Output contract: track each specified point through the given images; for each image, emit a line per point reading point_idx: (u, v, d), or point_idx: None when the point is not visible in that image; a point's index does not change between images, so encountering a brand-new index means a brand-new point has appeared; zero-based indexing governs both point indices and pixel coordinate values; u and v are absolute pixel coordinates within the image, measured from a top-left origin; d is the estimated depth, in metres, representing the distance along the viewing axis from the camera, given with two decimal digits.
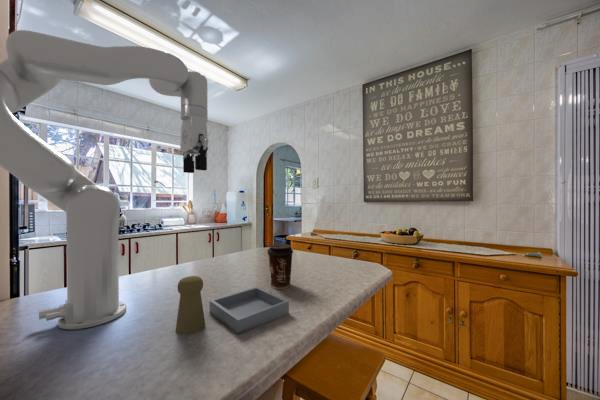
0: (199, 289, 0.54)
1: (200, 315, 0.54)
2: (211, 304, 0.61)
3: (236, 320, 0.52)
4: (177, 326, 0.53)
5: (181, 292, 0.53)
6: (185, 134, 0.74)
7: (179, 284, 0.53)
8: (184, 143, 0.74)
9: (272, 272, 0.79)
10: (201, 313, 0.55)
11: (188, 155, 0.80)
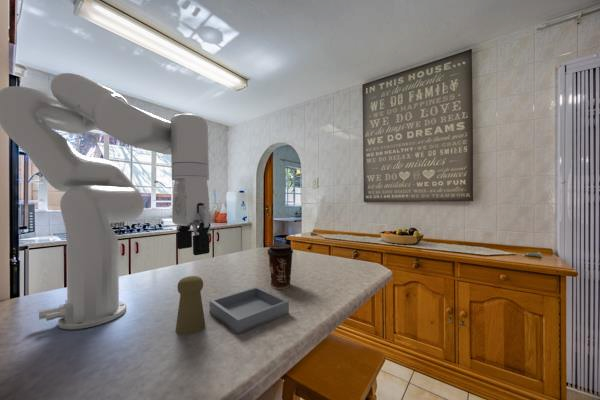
0: (199, 289, 0.54)
1: (200, 315, 0.54)
2: (211, 304, 0.61)
3: (236, 320, 0.52)
4: (177, 326, 0.53)
5: (181, 292, 0.53)
6: (178, 202, 0.53)
7: (179, 284, 0.53)
8: (177, 214, 0.53)
9: (272, 272, 0.79)
10: (201, 313, 0.55)
11: None
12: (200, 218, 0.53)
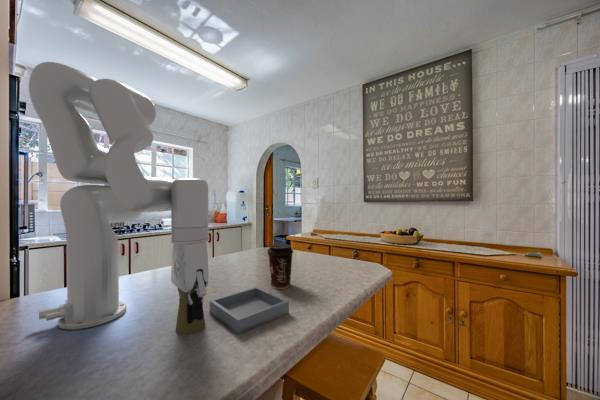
0: None
1: None
2: (211, 304, 0.61)
3: (236, 320, 0.52)
4: (177, 326, 0.53)
5: (181, 292, 0.53)
6: (177, 265, 0.53)
7: None
8: (176, 277, 0.53)
9: (272, 272, 0.79)
10: None
11: None
12: None
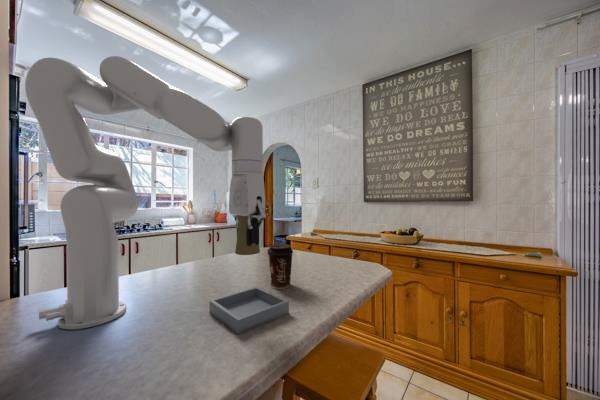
0: None
1: None
2: (211, 304, 0.61)
3: (236, 320, 0.52)
4: (237, 249, 0.60)
5: (241, 218, 0.59)
6: (238, 195, 0.59)
7: None
8: (236, 206, 0.60)
9: (272, 272, 0.79)
10: None
11: None
12: None
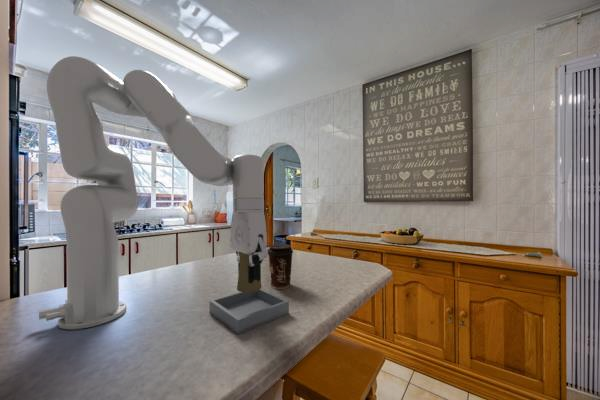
0: None
1: None
2: (211, 304, 0.61)
3: (236, 320, 0.52)
4: (239, 285, 0.60)
5: (243, 255, 0.59)
6: (239, 232, 0.60)
7: None
8: (238, 243, 0.60)
9: (272, 272, 0.79)
10: None
11: None
12: None
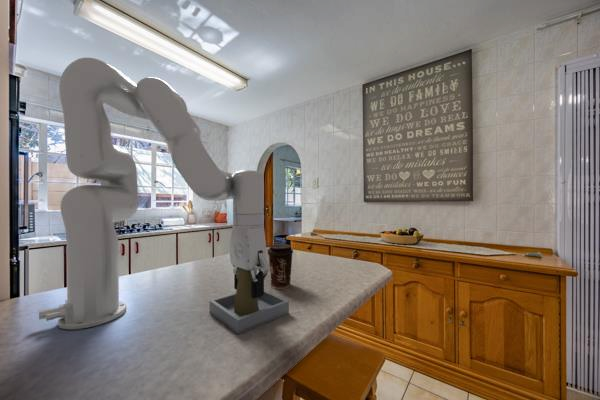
0: None
1: (255, 299, 0.62)
2: (211, 304, 0.61)
3: (236, 320, 0.52)
4: (236, 308, 0.60)
5: (240, 278, 0.60)
6: (239, 248, 0.60)
7: (238, 271, 0.60)
8: (237, 258, 0.60)
9: (272, 272, 0.79)
10: None
11: None
12: (258, 262, 0.60)
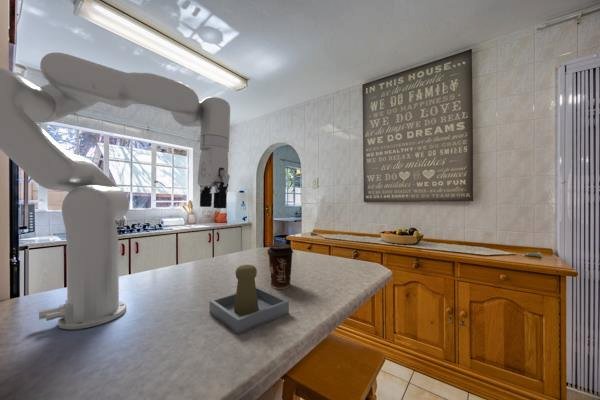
0: (254, 276, 0.61)
1: (255, 299, 0.62)
2: (211, 304, 0.61)
3: (236, 320, 0.52)
4: (236, 308, 0.60)
5: (240, 278, 0.60)
6: (204, 167, 0.66)
7: (237, 271, 0.60)
8: (202, 176, 0.67)
9: (272, 272, 0.79)
10: (256, 297, 0.62)
11: (206, 187, 0.73)
12: (220, 180, 0.66)
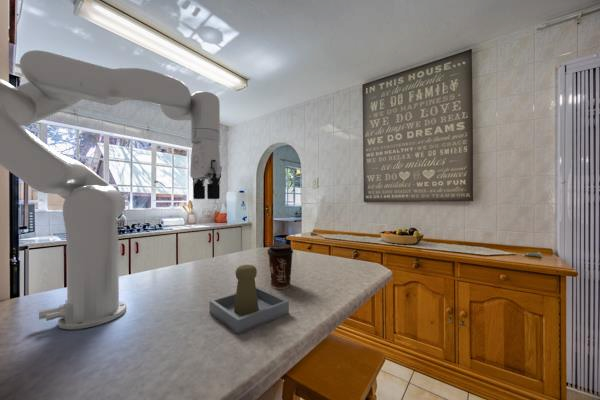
0: (254, 276, 0.61)
1: (255, 299, 0.62)
2: (211, 304, 0.61)
3: (236, 320, 0.52)
4: (236, 308, 0.60)
5: (240, 278, 0.60)
6: (196, 159, 0.68)
7: (238, 271, 0.60)
8: (195, 169, 0.69)
9: (272, 272, 0.79)
10: (256, 297, 0.62)
11: (198, 180, 0.75)
12: (213, 172, 0.69)
